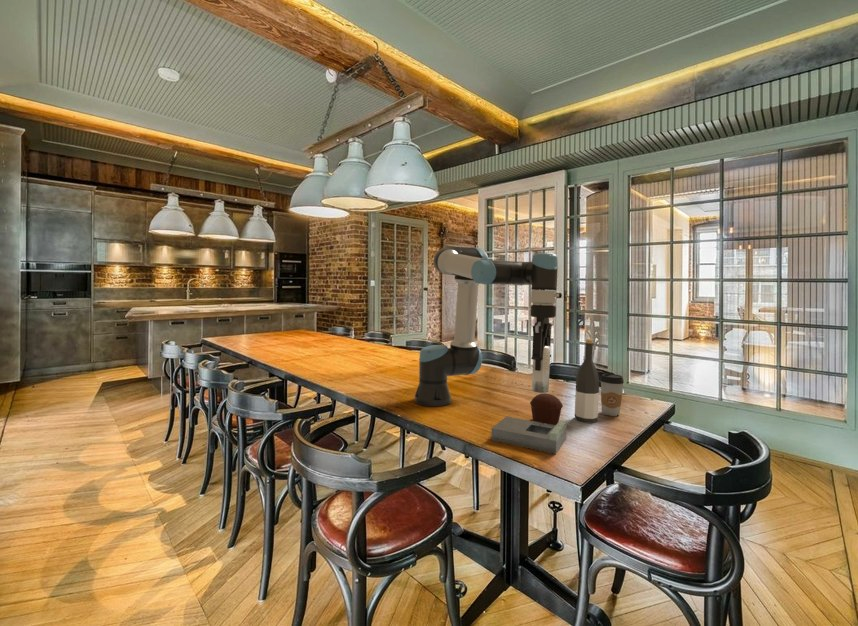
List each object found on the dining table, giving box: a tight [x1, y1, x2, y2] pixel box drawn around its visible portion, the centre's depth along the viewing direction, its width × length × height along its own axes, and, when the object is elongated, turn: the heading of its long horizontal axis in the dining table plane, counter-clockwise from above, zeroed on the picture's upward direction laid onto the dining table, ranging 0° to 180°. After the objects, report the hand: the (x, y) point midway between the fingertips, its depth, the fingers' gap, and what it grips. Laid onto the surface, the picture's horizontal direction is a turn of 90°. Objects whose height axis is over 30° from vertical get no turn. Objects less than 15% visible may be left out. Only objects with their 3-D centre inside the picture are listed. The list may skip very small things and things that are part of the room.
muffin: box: [529, 393, 564, 425], centre depth 148 cm, size 12×11×10 cm
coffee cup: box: [599, 373, 625, 417], centre depth 160 cm, size 8×8×15 cm
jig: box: [490, 416, 568, 455], centre depth 130 cm, size 20×14×6 cm
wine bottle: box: [574, 338, 600, 424], centre depth 151 cm, size 8×8×30 cm
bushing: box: [531, 345, 551, 394], centre depth 128 cm, size 5×5×14 cm
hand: (540, 378), depth 128 cm, fingers closed on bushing, 5 cm apart
